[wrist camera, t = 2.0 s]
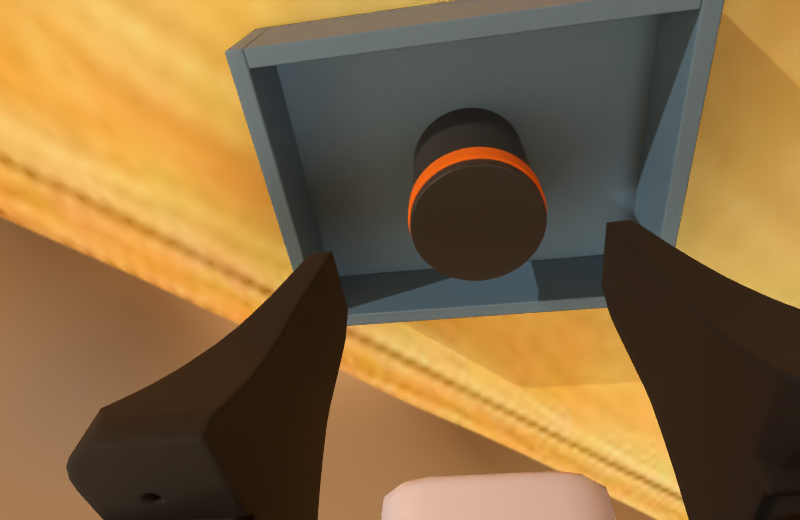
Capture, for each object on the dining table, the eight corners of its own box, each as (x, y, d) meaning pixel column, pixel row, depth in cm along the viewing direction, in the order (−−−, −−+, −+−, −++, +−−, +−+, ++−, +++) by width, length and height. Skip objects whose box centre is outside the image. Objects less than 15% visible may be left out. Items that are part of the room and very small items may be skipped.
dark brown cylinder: (525, 98, 18) (552, 154, 14) (524, 204, 21) (547, 278, 17) (405, 112, 19) (398, 170, 15) (418, 214, 21) (416, 288, 17)
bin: (679, -32, 16) (729, -19, 14) (636, 256, 23) (664, 304, 20) (254, 29, 18) (223, 51, 15) (324, 281, 24) (310, 329, 22)
